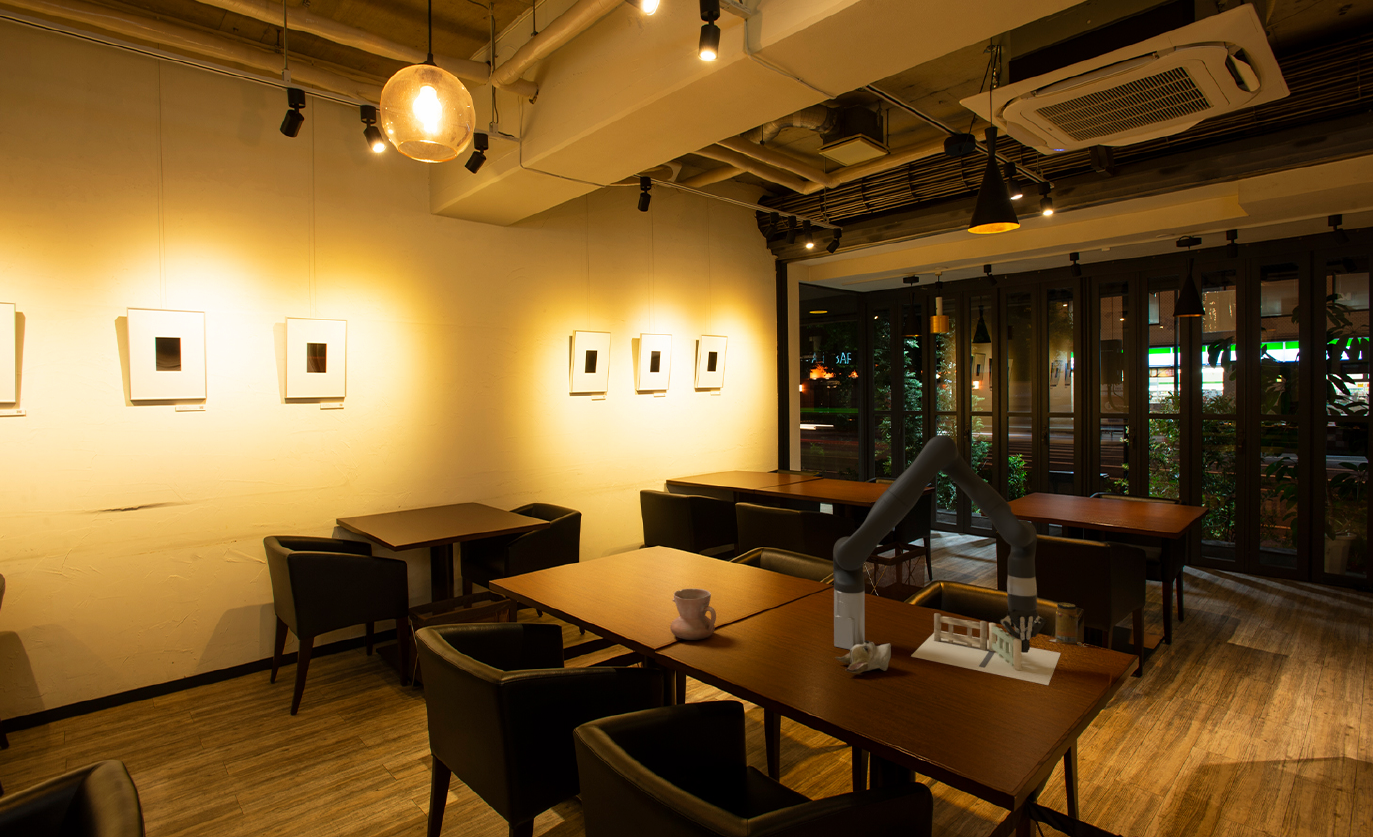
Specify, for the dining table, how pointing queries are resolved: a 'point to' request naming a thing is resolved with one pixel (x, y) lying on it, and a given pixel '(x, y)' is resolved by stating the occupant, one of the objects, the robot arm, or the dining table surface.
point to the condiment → (1067, 624)
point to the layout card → (990, 659)
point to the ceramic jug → (693, 614)
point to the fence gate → (1005, 645)
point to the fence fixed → (953, 637)
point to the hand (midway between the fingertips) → (1023, 651)
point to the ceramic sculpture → (867, 657)
